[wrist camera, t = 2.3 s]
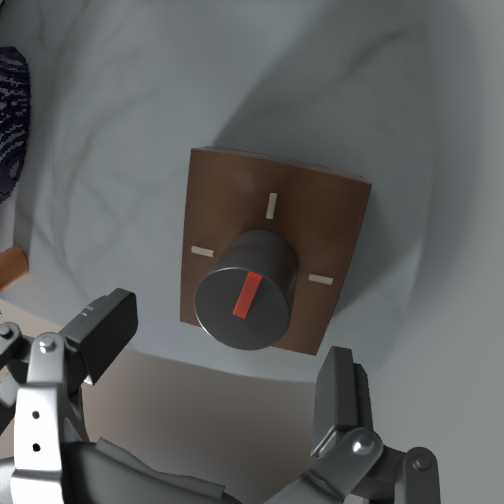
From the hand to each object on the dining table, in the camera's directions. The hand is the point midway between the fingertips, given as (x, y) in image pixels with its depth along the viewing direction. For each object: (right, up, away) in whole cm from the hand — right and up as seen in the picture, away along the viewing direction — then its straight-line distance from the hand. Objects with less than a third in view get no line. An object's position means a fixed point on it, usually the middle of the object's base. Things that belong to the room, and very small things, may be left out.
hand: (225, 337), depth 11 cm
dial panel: (+2, +4, +9) cm, 10 cm away
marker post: (-28, +2, +16) cm, 33 cm away
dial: (+1, +3, +6) cm, 7 cm away
